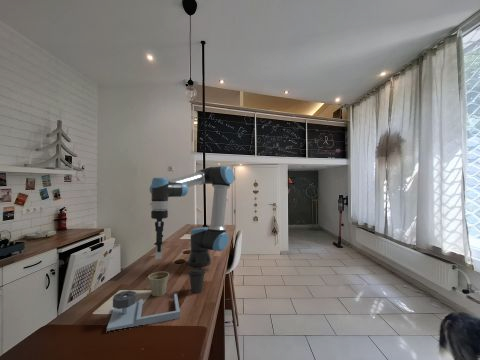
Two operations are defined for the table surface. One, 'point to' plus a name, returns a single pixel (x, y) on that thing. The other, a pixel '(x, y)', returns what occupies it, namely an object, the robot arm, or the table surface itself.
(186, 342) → the table surface
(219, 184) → the robot arm
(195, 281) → the coffee cup
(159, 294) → the flower pot
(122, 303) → the faceted octagonal hub
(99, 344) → the table surface
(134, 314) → the tray
